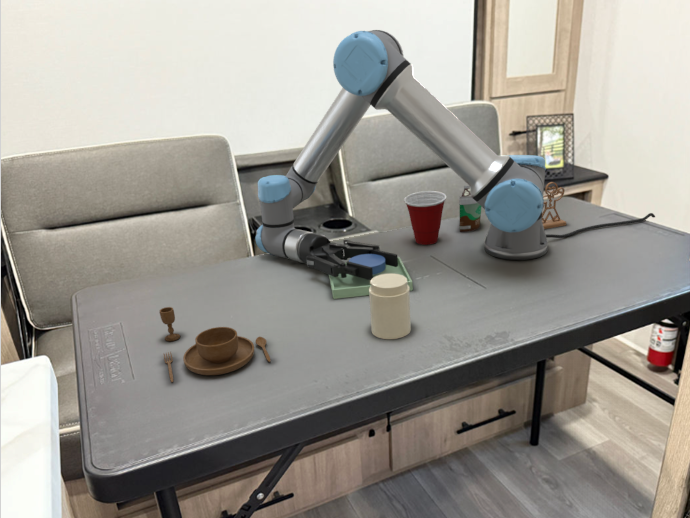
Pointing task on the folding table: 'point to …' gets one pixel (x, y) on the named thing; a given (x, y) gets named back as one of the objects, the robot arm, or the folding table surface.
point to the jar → (390, 306)
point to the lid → (370, 262)
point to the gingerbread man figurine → (553, 221)
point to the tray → (363, 282)
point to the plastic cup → (425, 215)
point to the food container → (469, 212)
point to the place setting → (213, 349)
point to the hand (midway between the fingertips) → (384, 267)
